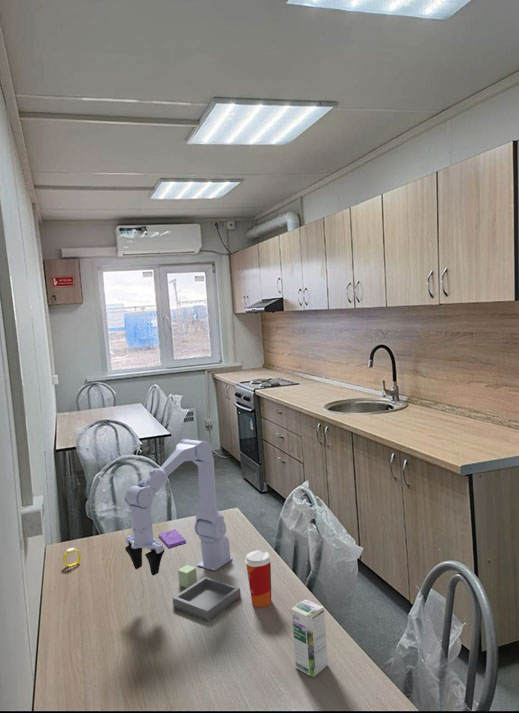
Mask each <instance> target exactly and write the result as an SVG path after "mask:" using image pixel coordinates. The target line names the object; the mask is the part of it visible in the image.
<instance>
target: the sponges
mask: <svg viewBox="0 0 519 713" xmlns="http://www.w3.org/2000/svg"><path fill="white" fill-rule="evenodd" d="M158 537H159V538H160V540H161V539H162V540H161V542H163V543H164V544H165V546H166V547H167V548H169V547H170V548H174V547H176V545H177V546H180V545H183V544H182V543H184V544H186V543H187V540H186V538H184V537H183V536H182V534H181V533H179V531H178V530H177V529H176V528H173V529H170V530H169V531H168V530H167V531H163V532H159V533H158ZM185 542H186V543H185ZM179 544H180V545H179ZM173 546H174V547H173Z"/></svg>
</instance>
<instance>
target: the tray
mask: <svg viewBox="0 0 519 713" xmlns="http://www.w3.org/2000/svg"><path fill="white" fill-rule="evenodd" d="M241 598H242V596H241V588H240V587H239V586H235V585H232V584H229V583H227V582H223V581H221V580H217V579H215V578H211V577H208V576H204V577H202V578H201V579H199V580H197V582H196V583H195V584H193V585H192V586H190V587H189V588H185V589H184V590H182V591H181V592H179V593H177V594H176V595H174V596H173V597H172V605H173V608H174V609H176V610H179V611H181V612H184V613H186V614H188V615H191V616H194V617H196V618H197V619H198V618H199V619H201V620H204V621H206V622H210V621H211V620H213V619H214V618H216V617H217V616H218V615H220V614H221V613H222V612H224V611H225V610H226V609H228V608H229V607H231V606H232V605H233V604H235V603H236V602H237V601H238V600H240V599H241Z"/></svg>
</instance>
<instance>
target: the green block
mask: <svg viewBox="0 0 519 713" xmlns="http://www.w3.org/2000/svg"><path fill="white" fill-rule="evenodd" d="M177 575H178V576H177V577H178V583H179V584H178V585H179V586H180V587H183V588H185V589H187V588H189V587H190V586H192V585H193V584H195V583H196V582H198V576H197V567H196V566H192V565H189V564H186V565H184V566H183V567H181V568H180V569H178V570H177Z"/></svg>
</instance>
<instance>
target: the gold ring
mask: <svg viewBox="0 0 519 713" xmlns="http://www.w3.org/2000/svg"><path fill="white" fill-rule="evenodd" d="M73 552H77V554H78V557H77V560H76V561H75V562H74V563H73V562H72V563H71V564H67V563H66V558H67V556H68V555H69V554H71V553H73ZM81 558H82V554H81V551H79V550H78V549H76V548H75V547H69V548H67V549H66V552H64V553H63V557H62V562H63V564H64V565H65V566H66V567H68V568H70V566H71V567H74V566H76V565H78V564H79V563H80V562H81ZM73 565H74V566H73Z"/></svg>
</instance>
